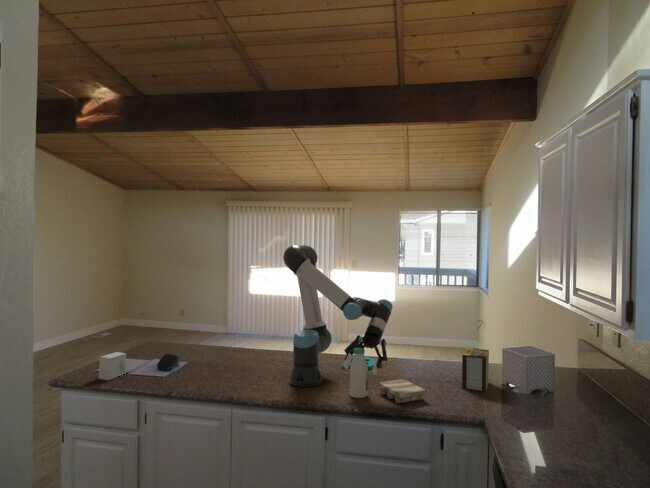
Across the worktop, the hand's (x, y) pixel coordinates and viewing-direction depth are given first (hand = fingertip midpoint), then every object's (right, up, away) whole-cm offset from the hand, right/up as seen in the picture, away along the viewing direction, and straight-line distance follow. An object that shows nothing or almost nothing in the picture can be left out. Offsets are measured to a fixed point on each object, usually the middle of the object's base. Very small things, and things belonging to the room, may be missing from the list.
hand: (358, 370), depth 182 cm
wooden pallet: (+18, -11, 0) cm, 21 cm away
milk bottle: (0, -11, +1) cm, 11 cm away
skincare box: (-116, -9, +22) cm, 118 cm away
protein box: (+56, -12, +17) cm, 59 cm away
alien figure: (+6, -12, +48) cm, 50 cm away
